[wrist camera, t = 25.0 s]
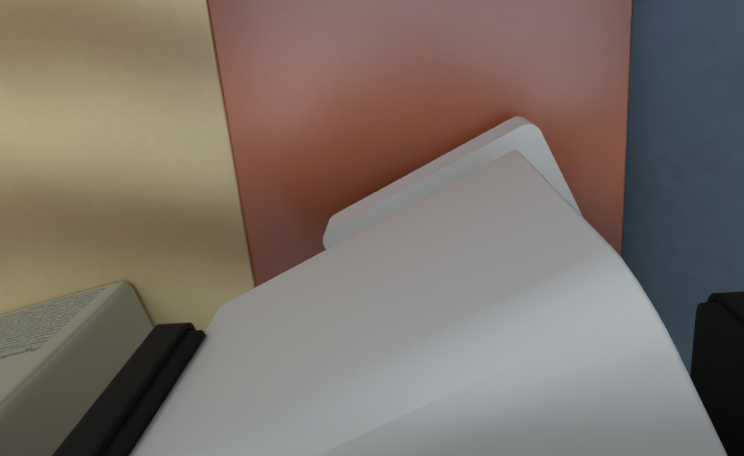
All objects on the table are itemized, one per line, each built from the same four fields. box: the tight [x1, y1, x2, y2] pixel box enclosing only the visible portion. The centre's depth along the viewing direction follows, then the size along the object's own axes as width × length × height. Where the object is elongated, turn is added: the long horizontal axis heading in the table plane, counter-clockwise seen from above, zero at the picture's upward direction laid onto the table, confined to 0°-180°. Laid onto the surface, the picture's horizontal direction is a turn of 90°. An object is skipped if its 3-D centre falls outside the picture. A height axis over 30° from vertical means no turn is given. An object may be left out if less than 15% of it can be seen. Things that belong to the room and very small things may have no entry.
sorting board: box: [0, 0, 633, 333], centre depth 16 cm, size 24×20×1 cm
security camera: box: [129, 116, 727, 456], centre depth 11 cm, size 6×7×10 cm
